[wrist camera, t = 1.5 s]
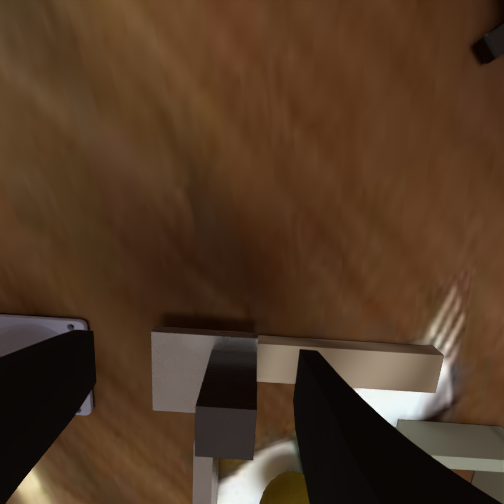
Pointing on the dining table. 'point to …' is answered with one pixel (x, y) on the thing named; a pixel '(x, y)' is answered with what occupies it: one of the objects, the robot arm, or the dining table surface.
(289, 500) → the lemon
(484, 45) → the coffee press
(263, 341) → the rail
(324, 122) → the dining table surface
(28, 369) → the robot arm
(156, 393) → the slider
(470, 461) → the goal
